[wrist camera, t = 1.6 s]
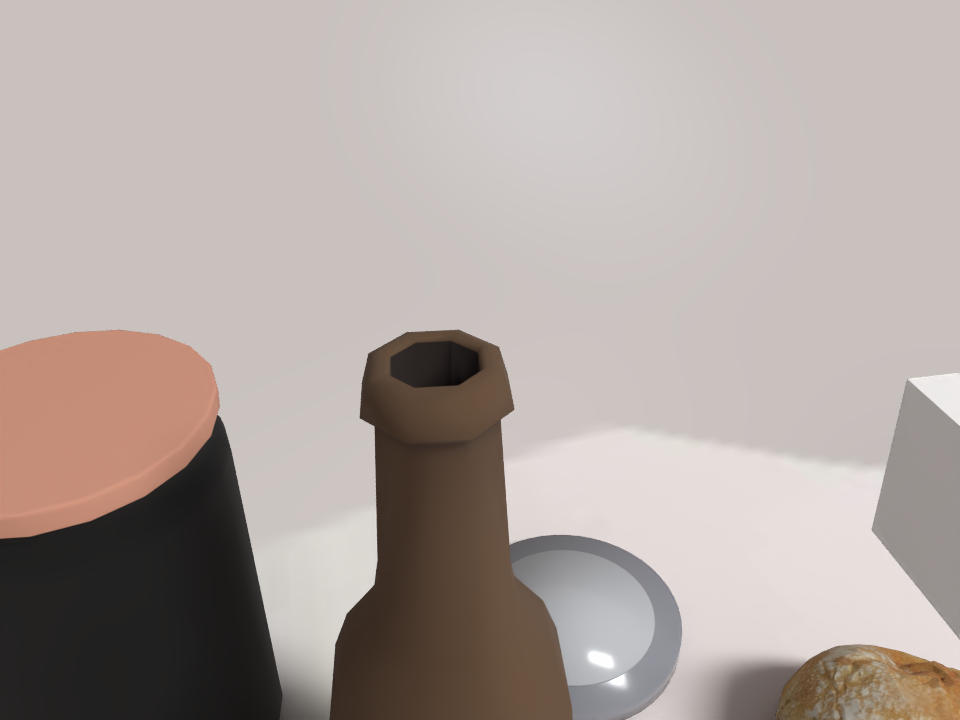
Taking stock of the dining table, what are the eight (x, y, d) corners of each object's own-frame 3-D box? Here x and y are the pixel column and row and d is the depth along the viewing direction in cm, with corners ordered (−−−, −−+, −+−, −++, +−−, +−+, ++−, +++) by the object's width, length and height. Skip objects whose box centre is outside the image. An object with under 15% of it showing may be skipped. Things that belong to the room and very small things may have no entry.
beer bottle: (328, 849, 34) (225, 323, 21) (501, 765, 37) (503, 258, 24) (404, 1063, 28) (326, 516, 15) (603, 943, 31) (677, 398, 18)
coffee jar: (101, 636, 43) (-13, 324, 33) (310, 647, 42) (256, 332, 33) (-19, 852, 34) (-221, 511, 24) (245, 871, 33) (143, 527, 24)
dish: (521, 767, 37) (521, 748, 36) (423, 591, 45) (422, 573, 45) (726, 672, 41) (730, 654, 40) (601, 527, 49) (602, 509, 49)
